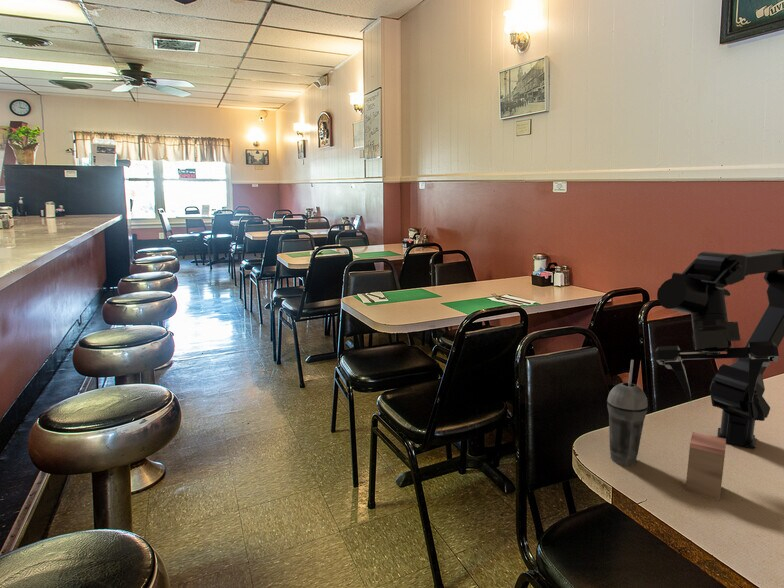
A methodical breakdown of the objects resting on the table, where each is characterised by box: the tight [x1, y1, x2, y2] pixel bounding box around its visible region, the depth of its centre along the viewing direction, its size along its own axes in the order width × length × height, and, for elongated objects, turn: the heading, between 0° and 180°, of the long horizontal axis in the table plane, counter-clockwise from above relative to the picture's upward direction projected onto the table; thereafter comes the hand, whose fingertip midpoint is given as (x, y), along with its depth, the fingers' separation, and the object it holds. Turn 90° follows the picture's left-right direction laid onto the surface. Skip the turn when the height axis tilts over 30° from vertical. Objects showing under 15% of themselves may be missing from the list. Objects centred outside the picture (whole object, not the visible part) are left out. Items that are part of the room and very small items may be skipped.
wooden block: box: [685, 431, 727, 501], centre depth 86 cm, size 5×5×9 cm
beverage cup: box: [606, 359, 649, 467], centre depth 95 cm, size 7×7×20 cm
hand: (719, 401), depth 89 cm, fingers open, 9 cm apart
